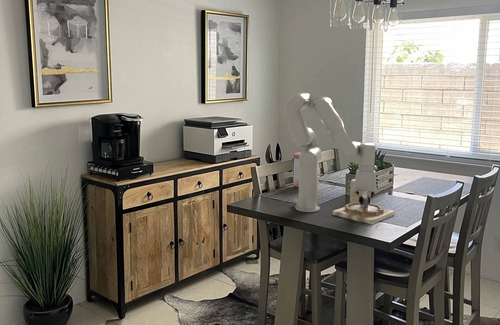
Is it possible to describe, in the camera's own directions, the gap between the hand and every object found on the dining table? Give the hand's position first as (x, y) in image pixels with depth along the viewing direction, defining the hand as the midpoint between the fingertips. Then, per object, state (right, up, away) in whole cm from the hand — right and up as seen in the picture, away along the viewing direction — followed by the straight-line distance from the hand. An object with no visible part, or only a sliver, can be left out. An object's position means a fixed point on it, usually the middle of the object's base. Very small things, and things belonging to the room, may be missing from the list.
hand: (364, 204), depth 254 cm
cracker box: (-24, +5, +56) cm, 61 cm away
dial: (0, -3, +1) cm, 3 cm away
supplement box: (+2, -2, +21) cm, 22 cm away
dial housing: (0, -5, +1) cm, 6 cm away
